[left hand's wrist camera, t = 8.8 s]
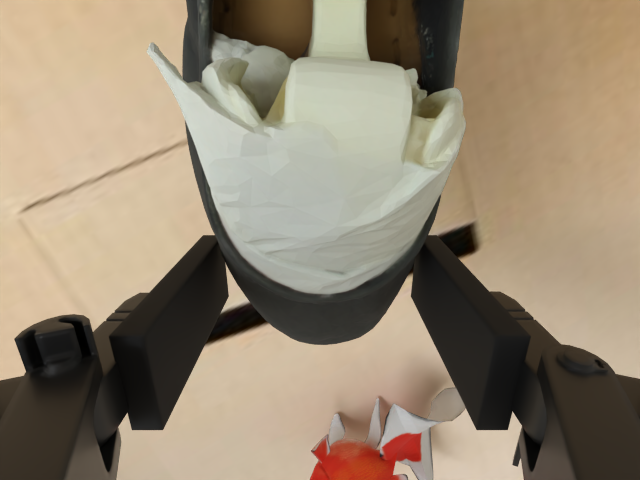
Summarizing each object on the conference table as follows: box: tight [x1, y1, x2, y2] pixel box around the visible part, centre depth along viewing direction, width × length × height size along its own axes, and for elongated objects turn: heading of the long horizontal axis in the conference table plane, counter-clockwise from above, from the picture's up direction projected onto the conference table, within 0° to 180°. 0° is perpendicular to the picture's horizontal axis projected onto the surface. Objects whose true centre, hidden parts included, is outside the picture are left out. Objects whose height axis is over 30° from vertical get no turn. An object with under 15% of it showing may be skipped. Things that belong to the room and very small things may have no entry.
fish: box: [310, 388, 466, 480], centre depth 29 cm, size 11×16×10 cm
